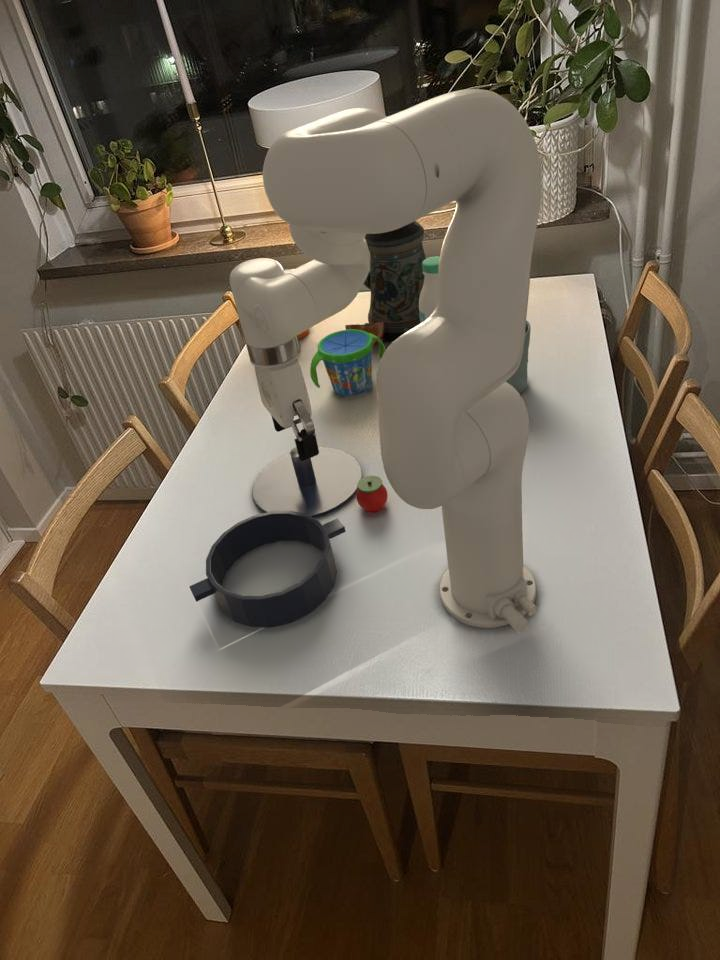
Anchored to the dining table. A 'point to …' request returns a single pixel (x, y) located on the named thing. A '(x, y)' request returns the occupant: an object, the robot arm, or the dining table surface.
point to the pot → (279, 604)
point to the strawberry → (371, 494)
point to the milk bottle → (429, 288)
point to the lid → (307, 482)
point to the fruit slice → (370, 329)
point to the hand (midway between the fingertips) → (296, 442)
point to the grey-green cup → (522, 365)
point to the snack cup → (347, 360)
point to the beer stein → (396, 278)
